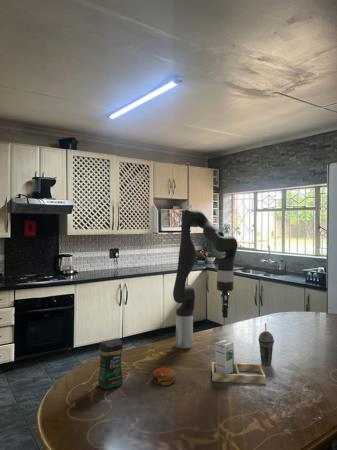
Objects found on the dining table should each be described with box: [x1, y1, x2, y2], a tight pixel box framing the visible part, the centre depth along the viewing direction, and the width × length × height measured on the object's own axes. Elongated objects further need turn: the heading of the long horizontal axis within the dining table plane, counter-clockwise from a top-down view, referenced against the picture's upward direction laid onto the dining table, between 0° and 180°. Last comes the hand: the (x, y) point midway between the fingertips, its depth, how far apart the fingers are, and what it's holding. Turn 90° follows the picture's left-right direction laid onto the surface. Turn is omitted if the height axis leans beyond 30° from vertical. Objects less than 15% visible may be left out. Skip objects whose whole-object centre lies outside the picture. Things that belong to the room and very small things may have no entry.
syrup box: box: [215, 339, 235, 374], centre depth 153 cm, size 6×6×14 cm
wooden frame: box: [211, 361, 267, 384], centre depth 152 cm, size 22×13×3 cm, turn 84°
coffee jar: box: [97, 337, 124, 390], centre depth 143 cm, size 10×8×19 cm
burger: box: [152, 366, 177, 386], centre depth 147 cm, size 10×9×5 cm
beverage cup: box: [257, 322, 275, 367], centre depth 164 cm, size 7×7×20 cm
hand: (224, 314), depth 159 cm, fingers open, 8 cm apart
